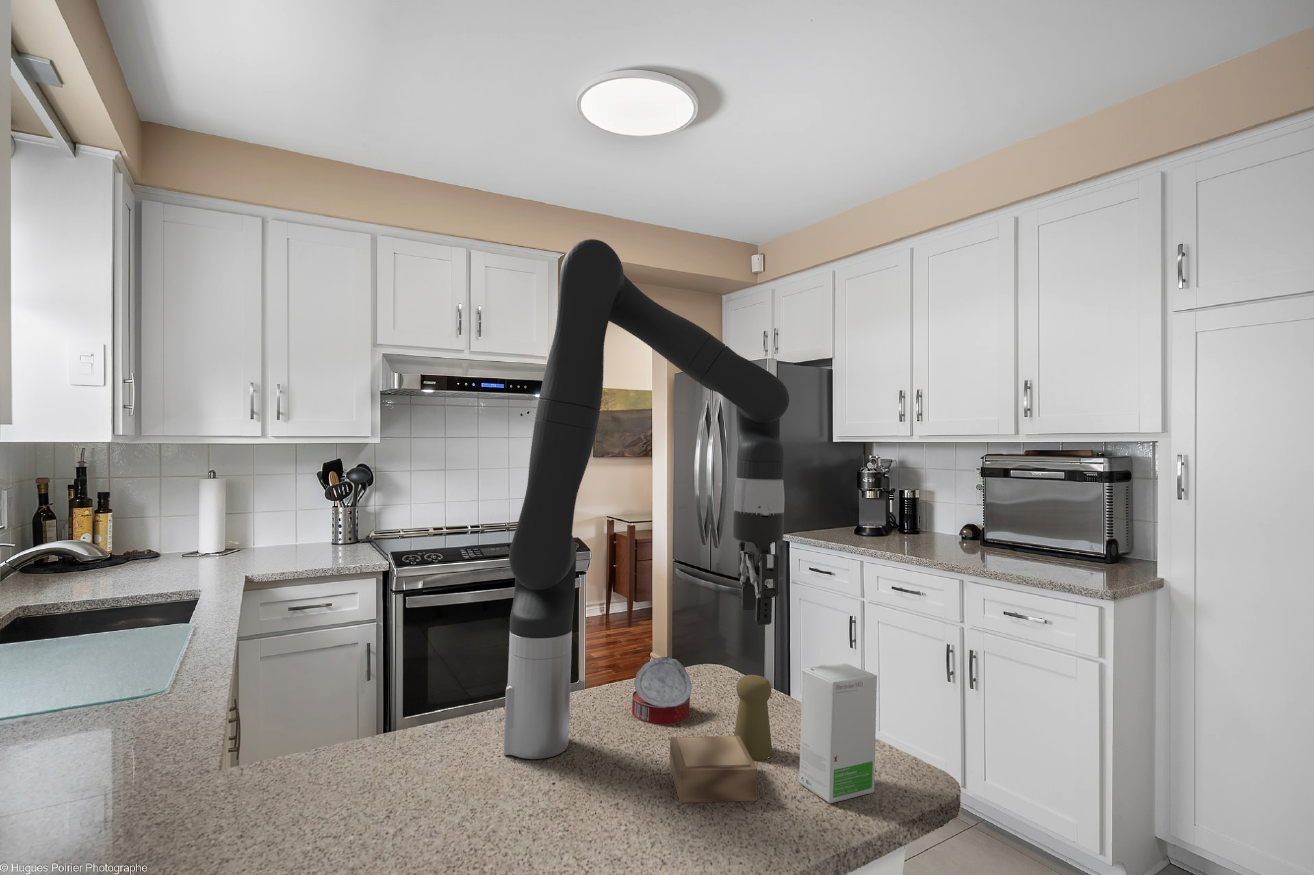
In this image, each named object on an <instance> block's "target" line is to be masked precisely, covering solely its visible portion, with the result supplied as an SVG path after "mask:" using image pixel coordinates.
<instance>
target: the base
mask: <svg viewBox="0 0 1314 875" xmlns="http://www.w3.org/2000/svg"><path fill="white" fill-rule="evenodd" d="M669 738H670V742H669V743H670V744H669V745H670V746H669V768H670V772H671V775H672V780H673V782H674V787H675V790H676V794H677V797H678V801H679V803H680V804H682V803H683V804H685V803H687V804H690V803H719V802H721V803H722V802H724V803H725V802H754V801H756V802H757V800H758V773H759V772H758V770H759V769H758V767H757V765H756V764H755V761H754V760H752V758H751V756H750V754H749V753H748V751H747V749H746V747H745V745H744V743H743V742H742V740H741V738H740V736H734V735H721V736H720V735H718V736H717V735H716V736H715V735H713V736H711V735H710V736H670V737H669Z"/></svg>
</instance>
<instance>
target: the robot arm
mask: <svg viewBox="0 0 1314 875" xmlns="http://www.w3.org/2000/svg"><path fill="white" fill-rule="evenodd" d="M559 275H560V276H559V292H558V304H557V312H556V313H557V315H556V322H555V323H556V324H555V330H554V334H553V340H552V343H551V346H550V351H549V355H548V358H547V362H546V364H545V365H546V366H545V370H544V374H543V378H542V383H541V388H540V392H539V396H538V401H537V406H536V407H537V408H536V413H535V419H534V425H533V433H532V440H531V446H530V447H531V448H530V454H529V462H528V463H529V464H528V474H527V476H528V477H527V486H526V491H525V495H524V498H523V499H524V500H523V502H522V508H521V510H520V515H519V518H518V521H517V525H516V528H515V531H514V534H513V535H514V536H513V538H512V541H511V544H510V546H509V547H510V548H509V553H508V561H509V563H508V564H509V566H510V569H511V572H512V574H513V576H514V577H515V578H514V579H515V580H514V594H513V600H512V606H511V611H510V615H509V641H508V644H509V646H508V668H507V669H508V670H507V684H506V687H505V702H504V729H503V730H504V732H503V734H504V736H503V755H504V756H513V757H516V758H520V759H527V760H528V759H529V760H538V759H539V760H543V759H547V758H552V757H555V756H557V755H560V754H562V753H563V752H564V751H566V750H567V748H568V746H569V736H570V709H571V708H570V705H571V704H570V703H571V675H572V674H571V669H572V643H573V642H572V639H573V621H574V620H573V618H574V611H575V610H574V609H575V598H576V597H575V596H576V595H575V593H576V573H577V572H576V570H577V546H576V545H577V544H576V541H575V538H574V536H573V526H574V519H575V518H574V516H575V508H576V502H577V497H578V493H579V490H580V487H581V483H582V481H583V478H584V474H585V473H586V470H587V466H588V464H589V461H590V459H591V455H592V454H591V453H592V451H593V447H594V444H595V439H596V435H597V430H598V423H599V419H600V414H601V409H602V401H603V400H602V399H603V391H604V390H603V388H604V370H605V369H604V364H605V362H604V361H605V357H604V356H605V355H604V353H605V352H604V351H605V341H606V334H607V329H608V325H609V322H610V323H612V324H614V325H616V326H617V327H619V328H621V329H623V330H625V331H626V332H628V333H630V335H632V336H634V337H636V338H637V339H639V340H640V341H641V342H642V343H644V344H645V345H647V346H649V347H650V348H651V349H652V350H653V351H655V352H656V353H658V354H659V355H660V356H662V357H663V358H664V359H666V360H667V361H668V362H669V363H671V364H672V365H674V366H675V367H676V368H678V369H679V370H680V371H681V372H682V373H684V374H685V375H686V376H688V377H690V378H691V379H692V380H694V381H695V382H697V383H698V384H700V385H701V386H702V387H704V388H706V389H707V390H709V391H712V392H716V393H718V394H720V395H721V396H722V397H724V398H725V400H728V401H729V402H731V403H732V404H733V405H734V406H735V408H736V409H735V411H736V413H735V415H736V430H737V431H736V434H737V441H738V442H737V445H738V446H737V455H736V456H737V457H736V458H737V459H736V460H737V461H736V478H735V487H734V494H733V520H732V521H733V524H732V525H733V526H732V529H733V530H732V535H733V539H735V540H736V541H739V543H738V562H737V566H738V567H737V577H738V579H739V583H740V586H741V600H740V602H741V604H740V606H741V608H742V610H743V611H755V617H754V618H755V623H756V624H757V625H759V626H760V625H761V626H762V625H763V626H769V625H771V624H772V616H773V599H774V598H777V597H778V596H779V593H780V592H779V568H780V567H779V566H780V565H779V560H780V557H779V554H777V553H772V547H771V546H772V544H773V543H777V544H778V543H781V542H782V541H783V539H784V526H785V522H784V521H785V488H784V487H785V486H784V474H785V473H784V472H785V470H784V469H785V468H784V467H785V466H784V464H785V460H784V459H785V458H784V457H785V454H784V448H783V445H782V443H781V440H780V435H781V432H780V430H781V429H780V425H781V421H780V420H781V417H782V416H784V414H785V413H786V412H787V410H788V407H789V403H790V394H789V390H788V389H787V386H786V385H785V384H784V382H783V381H782V380H781V379H779V378H778V377H777V376H776V375H775V374H773V373H771V371H768V370H766V368H764V367H762V366H760V365H758V364H756V363H755V362H753V361H751V360H749V359H747V358H745V357H743V356H741V355H740V354H738V353H737V352H735V351H734V350H733V349H731V348H730V347H729V346H728V345H726V344H725V343H723V342H722V341H721V340H719V339H718V338H717V337H715V336H714V335H713V334H712V333H710V332H708V331H707V330H705V329H704V328H702V327H701V326H699V325H698V324H696V323H694V322H692V321H691V320H689V319H687V318H685V317H683V316H682V315H679V314H677V313H675V312H674V311H671V310H669V309H667V308H665V307H664V306H662V305H660V304H659V303H657V302H655V301H654V300H653V299H651V298H650V297H649V296H648V295H646V294H645V293H644V292H643V291H642V290H640V289H639V288H638V287H637V286H636V285H635V284H634V283H633V282H632V281H631V280H630V279H629V278H628V277H627V276H626V275H625V273H624V269H623V264H622V261H621V258H620V257H619V255H618V254H617V252H616V251H615V250H614V249H613V248H612V247H611V246H610V244H607V243H606V242H604V241H602V240H600V239H595V238H593V239H592V238H588V239H584V240H582V241H579V242H577V243H576V244H574V245H573V246H572V247H571V248H570V249H569V250H568V252H567V253H566V254H565V256H564V258H563V260H562V263H561V266H560V274H559ZM766 586H767V587H766Z"/></svg>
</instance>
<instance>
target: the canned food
mask: <svg viewBox="0 0 1314 875" xmlns="http://www.w3.org/2000/svg"><path fill="white" fill-rule="evenodd" d="M633 683H634V687H635V691H634V692H632V696H631V697H632V700H631V703H632V704H631V715H632V716H633V717H634V718H635V719H636V720H638V721H640V722H643V723H646V724H651V725H661V726H662V725H664V726H665V725H674V724H679V723H682V722H684V721H686V720H687V719H688V718H689V716H690V705H691V704H690V702H691V695H692V689H693V685H692V684H693V683H692V681H691V676H690V675H689V673H688V672H687V670H686V667H685V666H684V665H683V664H682V663H680V661H679V660H677V659H675V658H671V657H669V656H661V657H654V659H651V660H650V661H648V662H646V663H645V664H644V665H642V667H641V668H640V669H639V670H638V671H637V672H636V676H635V678H634V682H633Z"/></svg>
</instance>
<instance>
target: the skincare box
mask: <svg viewBox="0 0 1314 875" xmlns="http://www.w3.org/2000/svg"><path fill="white" fill-rule="evenodd" d="M801 674H802V675H801V677H802V684H801V686H802V688H801V711H800V712H801V716H800V717H801V720H800V744H799V745H800V746H799V747H800V748H799V774H798V775H799V776H798V778H799V780H798V782H799V784H800V785H802V786H803V787H804V788H806V789H808V791H810V792H812V794H814V795H816V796H817V797H819V798H821V799H822V800H824V801H825V802H827V803H829V804H833V803H837V802H841V801H845V800H849V799H852V798H856V797H857V798H858V797H860V796H864V795H867V794H868V795H869V794H873V793H874V792H875V776H876V774H875V772H876V770H875V769H876V768H875V767H876V764H875V763H876V733H877V732H876V730H877V729H876V728H877V691H878V690H877V689H878V686H877V685H878V684H877V683H878V675H877V674H874V673H873V672H869V671H866V670H865V669H864V670H863V669H862V668H858V667H856V666H853V665H851V664H848V663H838V664H822V665H819V666H811V667H802V669H801Z"/></svg>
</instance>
